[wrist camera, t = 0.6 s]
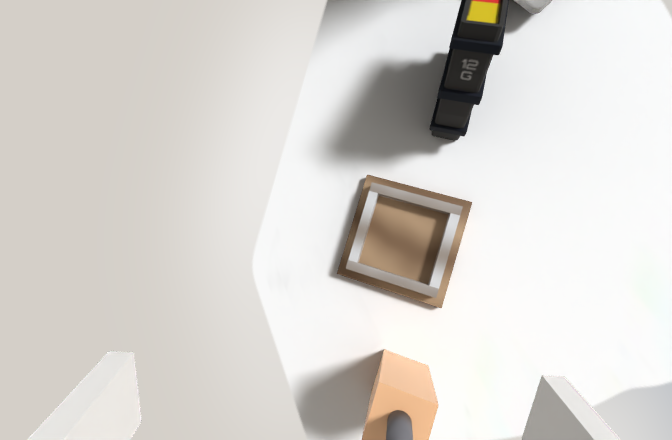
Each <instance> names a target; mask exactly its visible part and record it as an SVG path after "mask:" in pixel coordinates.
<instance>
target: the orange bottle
mask: <svg viewBox="0 0 672 440" xmlns="http://www.w3.org/2000/svg"><path fill="white" fill-rule="evenodd" d="M437 408H438V401H437V397H436V394H435V390H434V386H433V382H432V378H431V375H430V371H429V367H428V365H425V364H422V363H420V362H417V361H414V360H411V359H409V358H406V357H403V356H401V355H398V354H395V353H392V352H390V351H387V350H384V351H383V355H382V358H381V362H380V365H379V368H378V372H377V375H376V378H375V382H374V385H373V389H372V392H371V396H370V401H369V406H368V411H367V416H366V421H365V426H364V431H363V436H362V440H429V436H430V433H431V429H432V426H433V422H434V419H435V415H436V412H437Z"/></svg>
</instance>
